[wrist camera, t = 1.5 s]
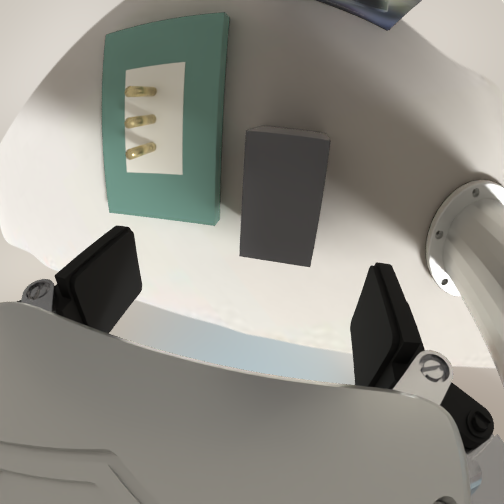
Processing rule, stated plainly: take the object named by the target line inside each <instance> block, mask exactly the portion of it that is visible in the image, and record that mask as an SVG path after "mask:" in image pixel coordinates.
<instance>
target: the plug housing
mask: <svg viewBox="0 0 504 504" xmlns="http://www.w3.org/2000/svg"><path fill="white" fill-rule="evenodd" d="M329 148H330V139H329V138H328V136H327V135H326V133H320V132H314V131H306V130H299V129H291V128H282V127H271V126H260V127H256V128H253V129H250V130H247V131H246V142H245V159H244V176H243V195H242V214H241V234H240V255H239V256H242V257H248V258H255V259H261V260H267V261H274V262H280V263H286V264H293V265H299V266H306V267H310V265H311V260H312V255H313V249H314V244H315V238H316V233H317V227H318V221H319V216H320V210H321V203H322V197H323V191H324V184H325V177H326V170H327V163H328V155H329Z"/></svg>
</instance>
